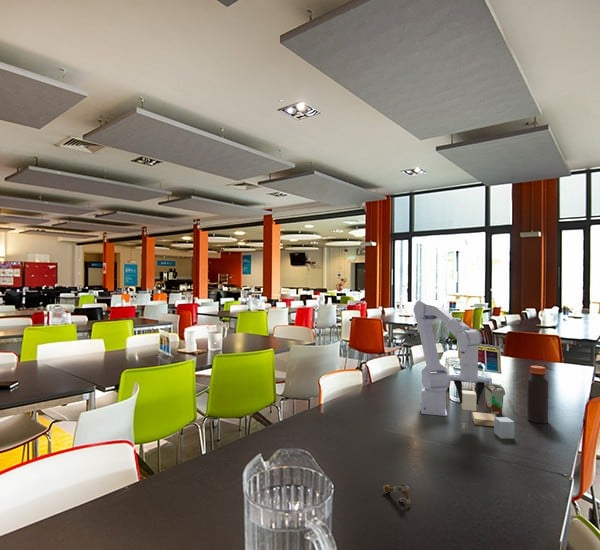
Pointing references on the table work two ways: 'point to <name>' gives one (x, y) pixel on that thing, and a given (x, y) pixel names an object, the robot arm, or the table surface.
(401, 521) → the table surface
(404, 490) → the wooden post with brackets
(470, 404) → the cream block
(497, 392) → the food container
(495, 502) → the table surface
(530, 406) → the bottle
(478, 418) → the oak slab
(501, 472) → the table surface
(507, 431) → the slate block
